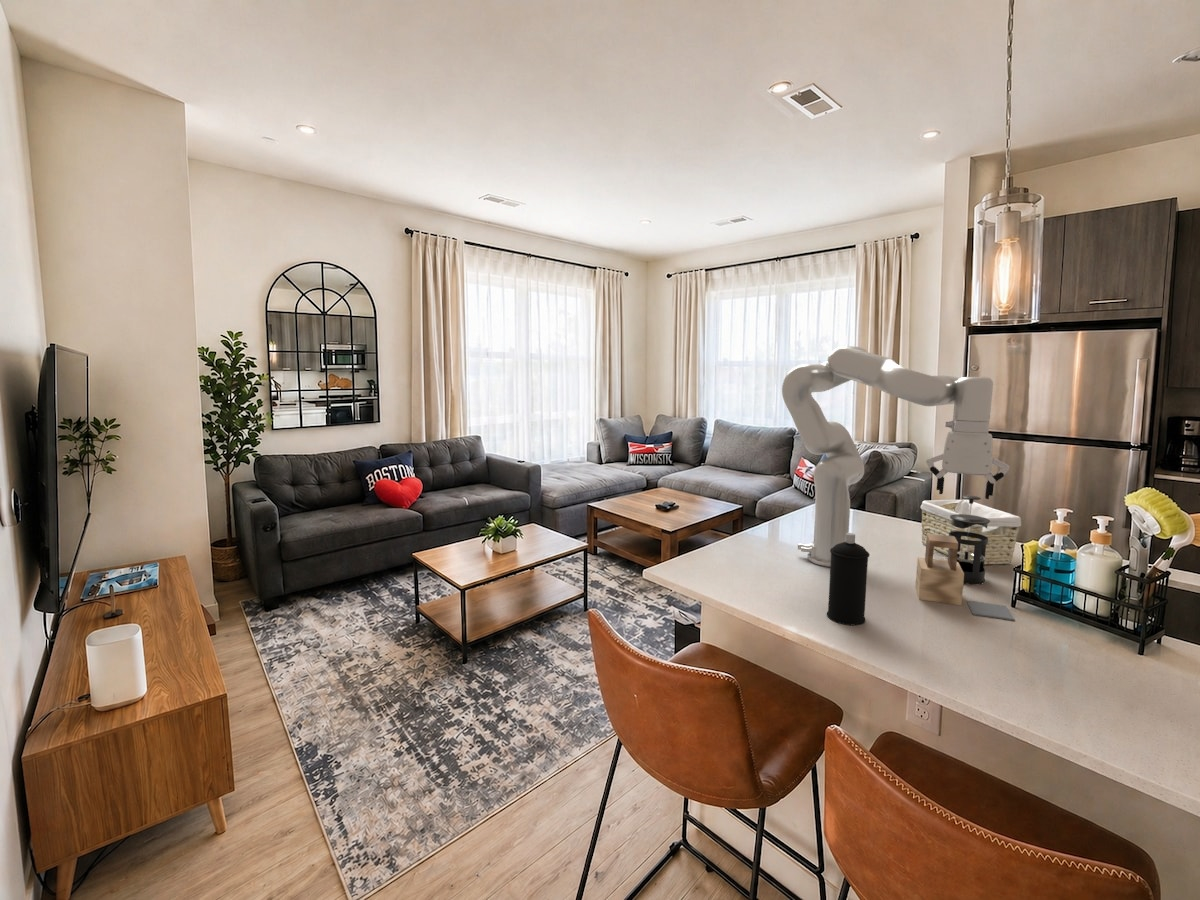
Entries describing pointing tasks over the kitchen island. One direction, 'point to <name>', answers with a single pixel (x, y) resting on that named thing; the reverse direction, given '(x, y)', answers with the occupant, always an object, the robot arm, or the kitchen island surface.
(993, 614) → the coaster
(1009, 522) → the storage basket
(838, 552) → the aerosol can
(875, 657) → the kitchen island surface
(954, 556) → the u-shaped wooden block
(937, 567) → the plinth
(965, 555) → the french press
